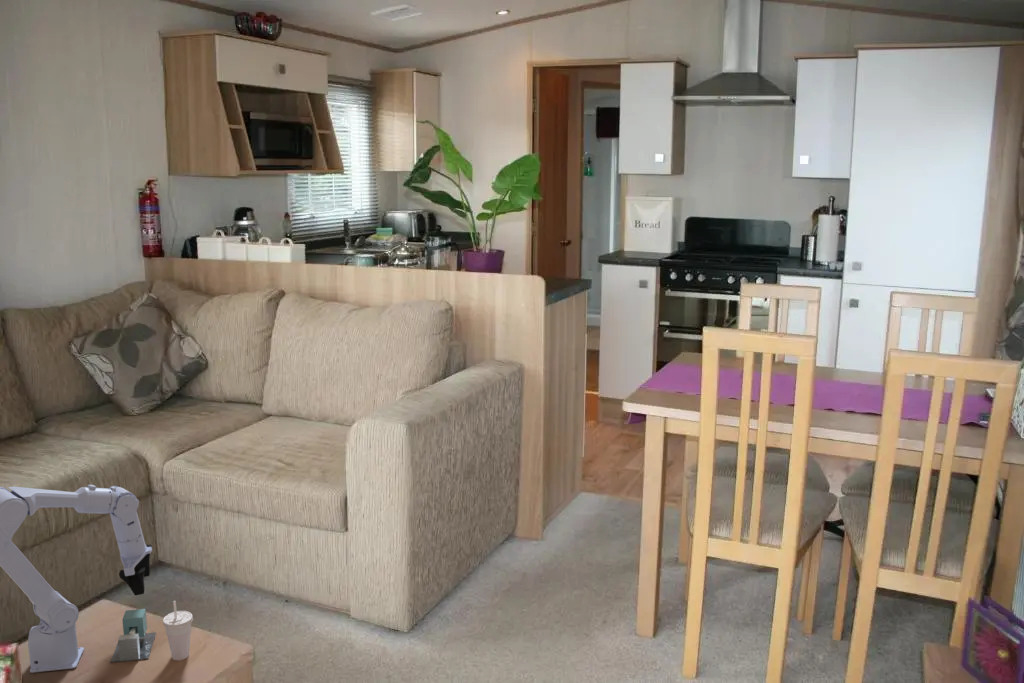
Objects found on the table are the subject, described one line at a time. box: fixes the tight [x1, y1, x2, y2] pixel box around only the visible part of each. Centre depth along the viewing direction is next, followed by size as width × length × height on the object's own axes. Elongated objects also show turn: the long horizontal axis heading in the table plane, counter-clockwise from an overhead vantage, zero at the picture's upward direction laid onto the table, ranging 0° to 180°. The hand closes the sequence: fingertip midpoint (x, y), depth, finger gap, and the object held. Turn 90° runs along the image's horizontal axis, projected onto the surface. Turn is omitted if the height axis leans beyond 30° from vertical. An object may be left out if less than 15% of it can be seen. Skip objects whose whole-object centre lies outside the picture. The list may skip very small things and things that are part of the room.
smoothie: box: [162, 600, 194, 661], centre depth 203 cm, size 6×6×14 cm
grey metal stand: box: [110, 626, 157, 663], centre depth 207 cm, size 8×11×6 cm
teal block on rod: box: [121, 608, 148, 637], centre depth 209 cm, size 4×4×5 cm
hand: (142, 584), depth 214 cm, fingers open, 7 cm apart
